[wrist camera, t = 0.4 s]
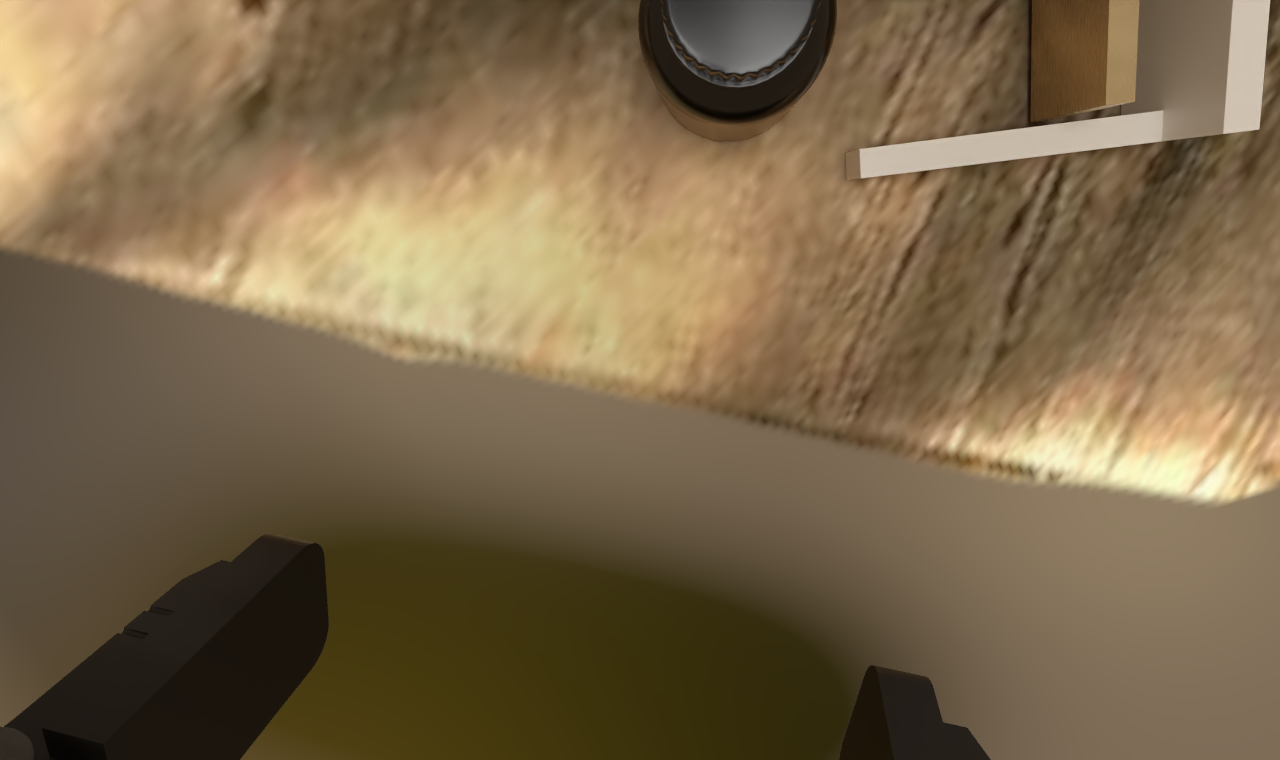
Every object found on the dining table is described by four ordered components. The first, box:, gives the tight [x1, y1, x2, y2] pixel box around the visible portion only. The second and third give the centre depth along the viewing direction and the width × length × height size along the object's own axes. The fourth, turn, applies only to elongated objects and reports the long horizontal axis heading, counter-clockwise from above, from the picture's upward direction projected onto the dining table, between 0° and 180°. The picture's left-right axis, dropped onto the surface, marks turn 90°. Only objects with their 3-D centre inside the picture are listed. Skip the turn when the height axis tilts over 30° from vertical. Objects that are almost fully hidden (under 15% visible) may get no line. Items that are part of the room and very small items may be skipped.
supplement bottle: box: [639, 0, 837, 142], centre depth 27 cm, size 7×7×12 cm
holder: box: [845, 0, 1270, 180], centre depth 28 cm, size 11×13×6 cm
